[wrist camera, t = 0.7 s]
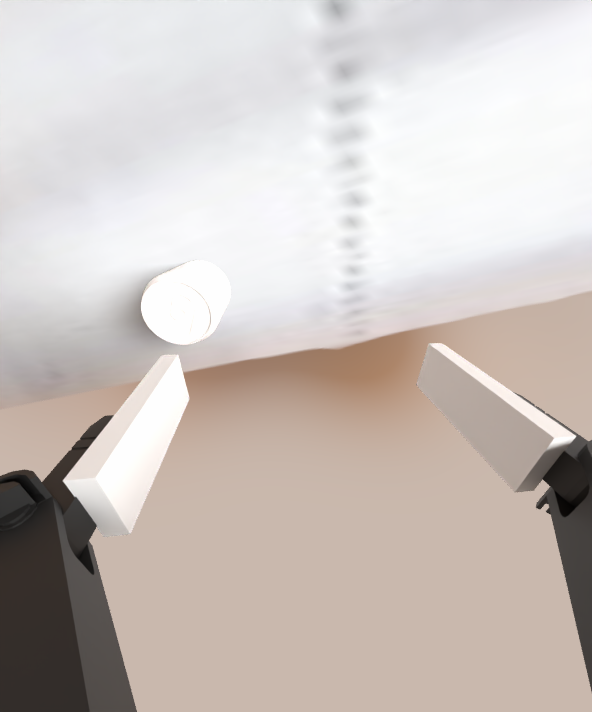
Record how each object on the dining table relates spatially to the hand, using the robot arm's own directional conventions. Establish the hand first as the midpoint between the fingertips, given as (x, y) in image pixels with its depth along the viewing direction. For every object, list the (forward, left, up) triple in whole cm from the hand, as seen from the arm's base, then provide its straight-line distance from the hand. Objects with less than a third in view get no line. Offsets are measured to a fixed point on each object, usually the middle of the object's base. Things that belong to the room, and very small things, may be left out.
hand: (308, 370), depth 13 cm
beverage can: (0, -12, -27) cm, 29 cm away
